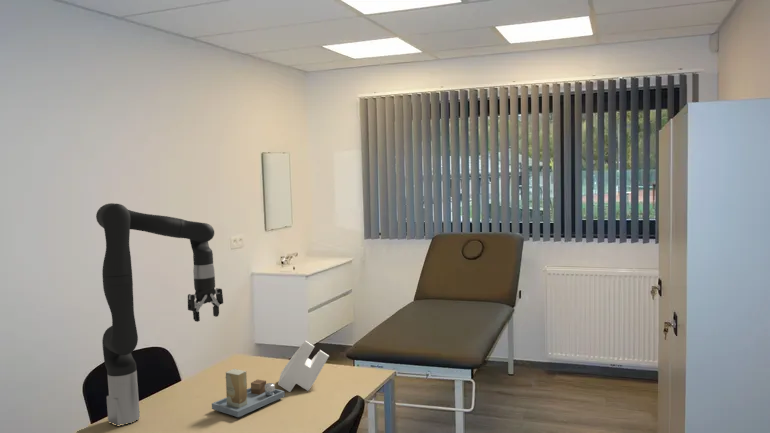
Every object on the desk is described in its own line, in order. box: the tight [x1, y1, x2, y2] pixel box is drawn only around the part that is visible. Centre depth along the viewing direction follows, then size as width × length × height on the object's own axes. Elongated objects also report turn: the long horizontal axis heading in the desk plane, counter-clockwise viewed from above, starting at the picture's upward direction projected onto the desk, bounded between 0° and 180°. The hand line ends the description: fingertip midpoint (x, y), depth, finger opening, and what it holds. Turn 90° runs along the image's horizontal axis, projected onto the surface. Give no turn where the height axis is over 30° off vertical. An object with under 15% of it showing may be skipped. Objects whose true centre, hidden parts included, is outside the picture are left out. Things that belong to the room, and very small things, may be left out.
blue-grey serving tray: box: [211, 387, 286, 419], centre depth 217 cm, size 22×14×3 cm, turn 144°
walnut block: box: [250, 379, 267, 395], centre depth 225 cm, size 4×4×4 cm
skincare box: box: [225, 368, 248, 408], centre depth 213 cm, size 6×4×12 cm
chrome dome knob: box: [265, 382, 276, 397], centre depth 221 cm, size 4×4×4 cm
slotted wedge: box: [277, 340, 330, 393], centre depth 236 cm, size 14×11×18 cm
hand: (206, 318), depth 224 cm, fingers open, 8 cm apart
